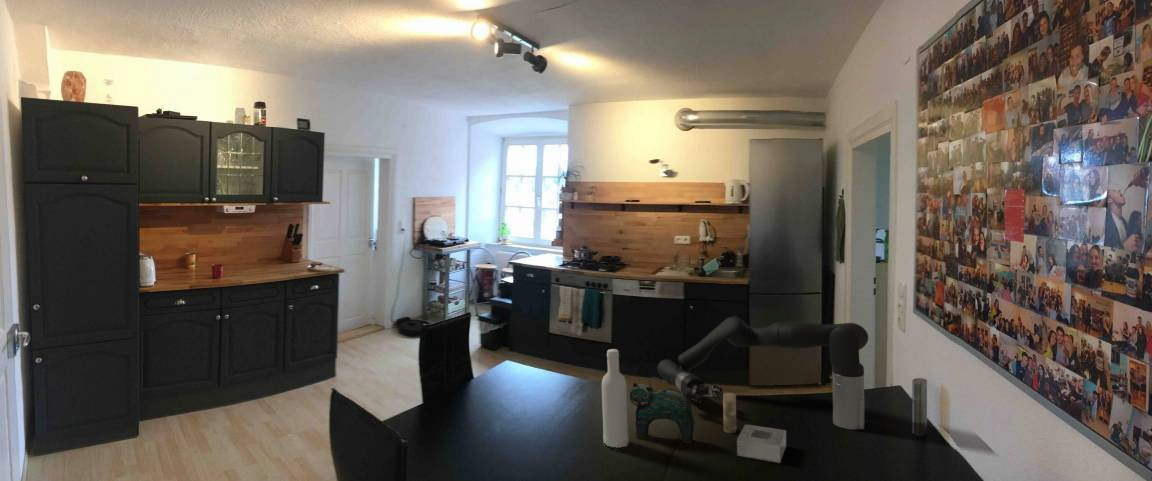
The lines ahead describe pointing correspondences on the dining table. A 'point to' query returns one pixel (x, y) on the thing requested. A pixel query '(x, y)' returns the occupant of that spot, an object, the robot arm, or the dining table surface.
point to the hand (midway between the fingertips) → (711, 398)
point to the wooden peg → (729, 412)
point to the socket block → (761, 443)
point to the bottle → (614, 403)
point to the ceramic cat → (661, 409)
